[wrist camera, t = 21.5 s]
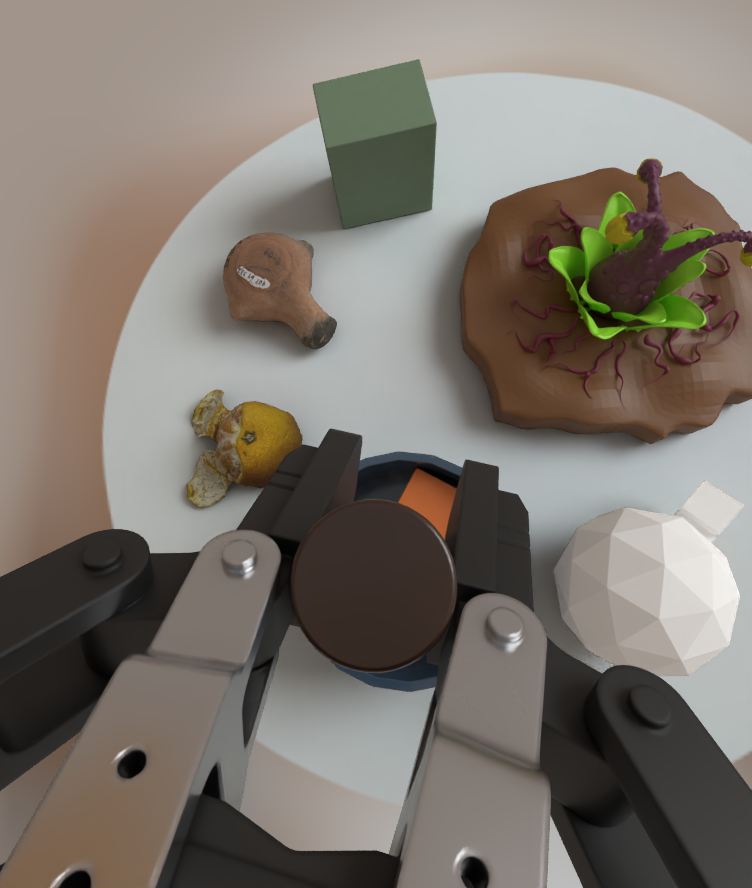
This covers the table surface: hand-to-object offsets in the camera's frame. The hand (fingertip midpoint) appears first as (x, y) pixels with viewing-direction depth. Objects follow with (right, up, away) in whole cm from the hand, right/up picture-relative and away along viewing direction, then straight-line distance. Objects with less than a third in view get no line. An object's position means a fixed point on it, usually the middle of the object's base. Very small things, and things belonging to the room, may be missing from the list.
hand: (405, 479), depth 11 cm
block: (+3, -4, +21) cm, 22 cm away
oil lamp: (-8, +11, +26) cm, 30 cm away
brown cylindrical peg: (0, -3, +4) cm, 5 cm away
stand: (0, +21, +28) cm, 34 cm away
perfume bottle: (+16, -8, +21) cm, 27 cm away
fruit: (-11, +1, +24) cm, 26 cm away
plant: (+15, +10, +24) cm, 30 cm away
